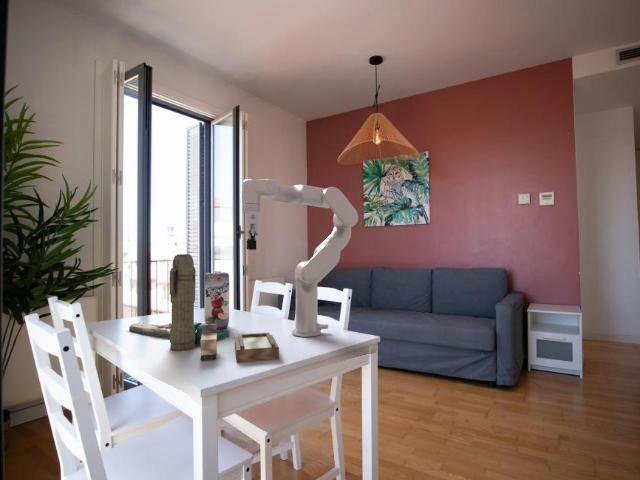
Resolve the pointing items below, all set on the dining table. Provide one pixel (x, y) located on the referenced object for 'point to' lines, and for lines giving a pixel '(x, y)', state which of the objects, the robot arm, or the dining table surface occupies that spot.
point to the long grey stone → (152, 329)
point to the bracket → (198, 333)
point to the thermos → (182, 303)
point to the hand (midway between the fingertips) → (251, 249)
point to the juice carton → (217, 299)
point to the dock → (256, 347)
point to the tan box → (209, 340)
